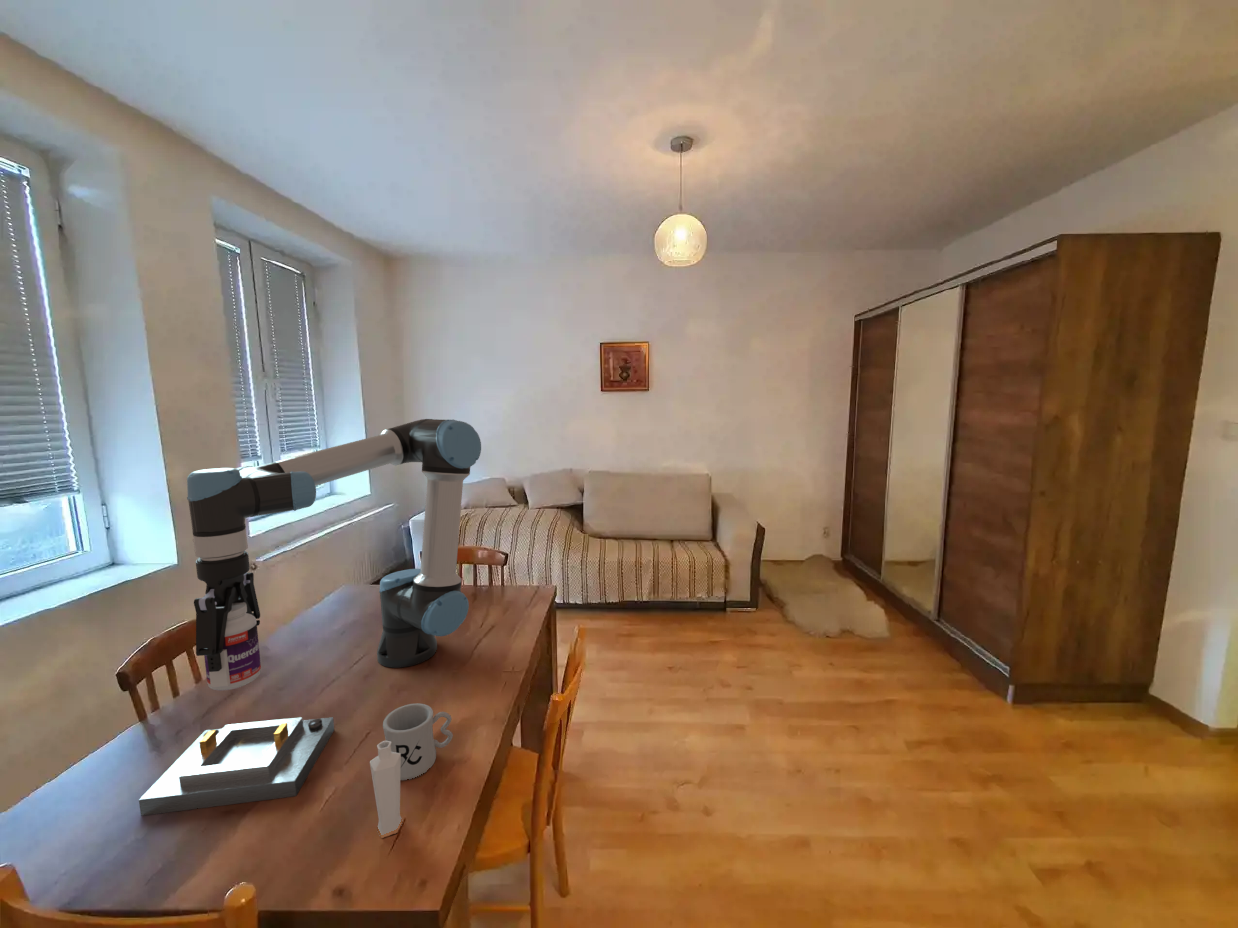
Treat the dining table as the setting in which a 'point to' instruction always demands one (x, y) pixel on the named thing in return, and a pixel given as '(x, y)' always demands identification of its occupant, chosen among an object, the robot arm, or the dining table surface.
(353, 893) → the dining table surface
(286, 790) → the grey clamping fixture
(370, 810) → the dining table surface
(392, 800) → the perfume bottle
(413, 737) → the mug
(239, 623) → the pill bottle
